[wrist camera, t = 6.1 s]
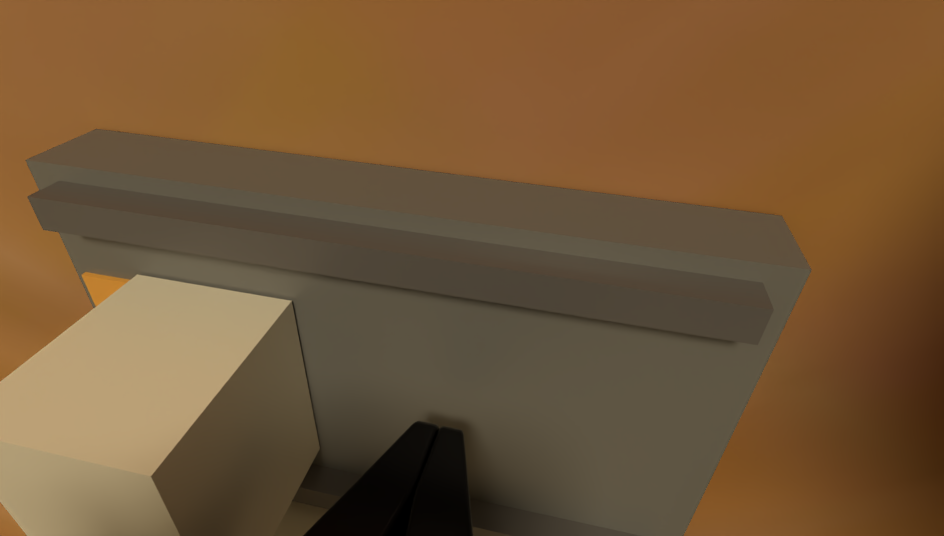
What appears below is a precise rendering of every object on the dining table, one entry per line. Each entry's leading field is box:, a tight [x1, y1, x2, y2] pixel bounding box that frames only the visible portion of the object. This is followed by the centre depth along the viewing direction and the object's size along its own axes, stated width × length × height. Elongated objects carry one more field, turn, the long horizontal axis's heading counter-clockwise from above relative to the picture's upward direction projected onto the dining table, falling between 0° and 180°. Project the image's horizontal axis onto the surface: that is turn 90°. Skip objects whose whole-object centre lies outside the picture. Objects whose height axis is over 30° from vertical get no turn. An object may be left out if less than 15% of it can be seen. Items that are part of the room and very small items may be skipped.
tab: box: [0, 274, 320, 536], centre depth 9 cm, size 3×4×4 cm
